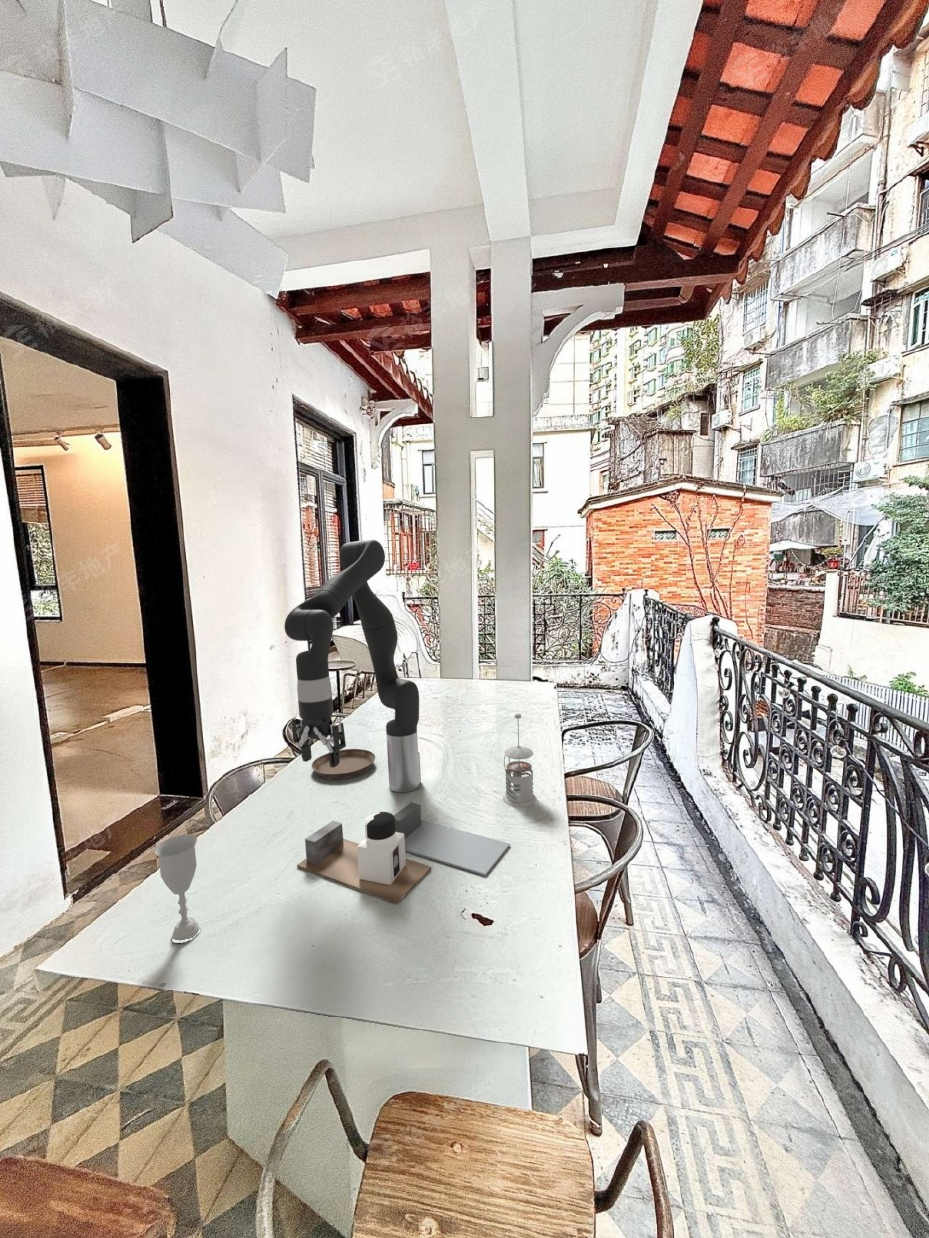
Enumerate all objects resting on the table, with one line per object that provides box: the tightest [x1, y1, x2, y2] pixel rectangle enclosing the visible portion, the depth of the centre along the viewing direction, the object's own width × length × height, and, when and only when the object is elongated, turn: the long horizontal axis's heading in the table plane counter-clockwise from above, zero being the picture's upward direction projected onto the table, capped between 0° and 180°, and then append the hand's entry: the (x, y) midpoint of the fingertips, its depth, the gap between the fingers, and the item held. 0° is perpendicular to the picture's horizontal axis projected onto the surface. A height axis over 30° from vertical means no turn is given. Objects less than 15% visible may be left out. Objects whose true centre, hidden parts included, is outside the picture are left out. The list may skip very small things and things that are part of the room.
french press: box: [502, 713, 538, 808], centre depth 145 cm, size 10×12×25 cm
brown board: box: [296, 820, 432, 905], centre depth 115 cm, size 13×28×6 cm, turn 61°
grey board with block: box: [393, 801, 511, 877], centre depth 123 cm, size 13×28×6 cm, turn 61°
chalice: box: [154, 833, 201, 941], centre depth 96 cm, size 7×7×18 cm
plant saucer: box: [311, 748, 376, 780], centre depth 170 cm, size 21×21×3 cm
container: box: [357, 811, 407, 885], centre depth 112 cm, size 8×8×13 cm
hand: (320, 763), depth 120 cm, fingers open, 8 cm apart
